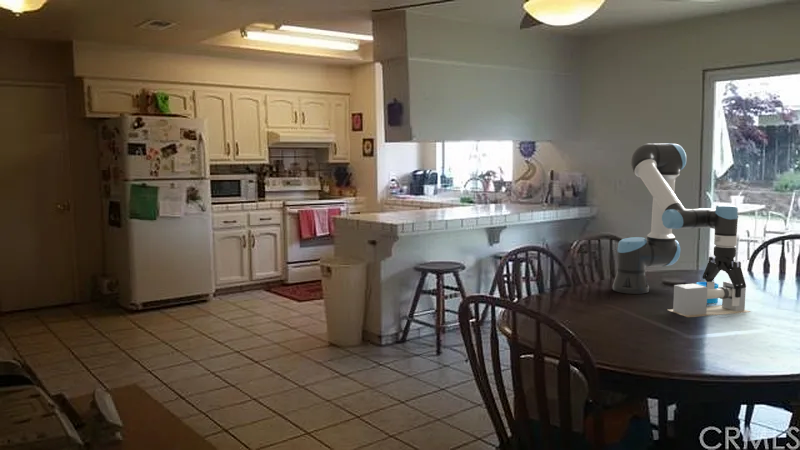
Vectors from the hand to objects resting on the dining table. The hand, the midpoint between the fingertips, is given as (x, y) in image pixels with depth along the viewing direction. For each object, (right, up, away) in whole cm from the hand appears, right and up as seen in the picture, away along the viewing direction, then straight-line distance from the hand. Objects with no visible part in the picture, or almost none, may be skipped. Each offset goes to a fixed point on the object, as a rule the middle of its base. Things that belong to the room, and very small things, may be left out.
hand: (722, 301), depth 243 cm
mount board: (-6, -4, -1) cm, 7 cm away
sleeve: (-14, -4, -3) cm, 14 cm away
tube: (-3, +1, -1) cm, 3 cm away
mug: (+2, -3, +16) cm, 17 cm away
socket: (+5, -3, +2) cm, 6 cm away
